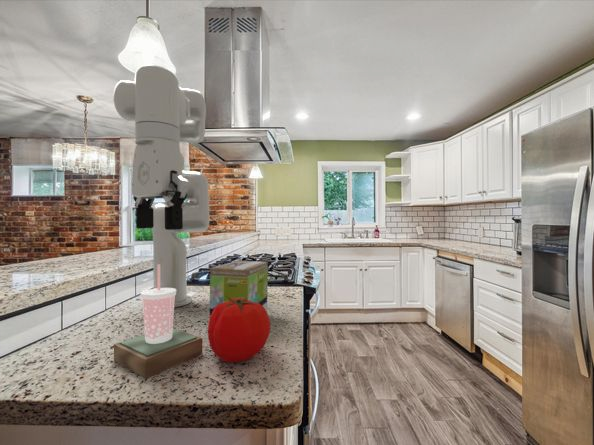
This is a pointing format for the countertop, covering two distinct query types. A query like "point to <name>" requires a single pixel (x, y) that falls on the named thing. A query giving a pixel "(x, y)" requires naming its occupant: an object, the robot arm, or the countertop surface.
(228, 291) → the tea box
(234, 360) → the tomato
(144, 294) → the beverage cup
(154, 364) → the podium
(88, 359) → the countertop surface
